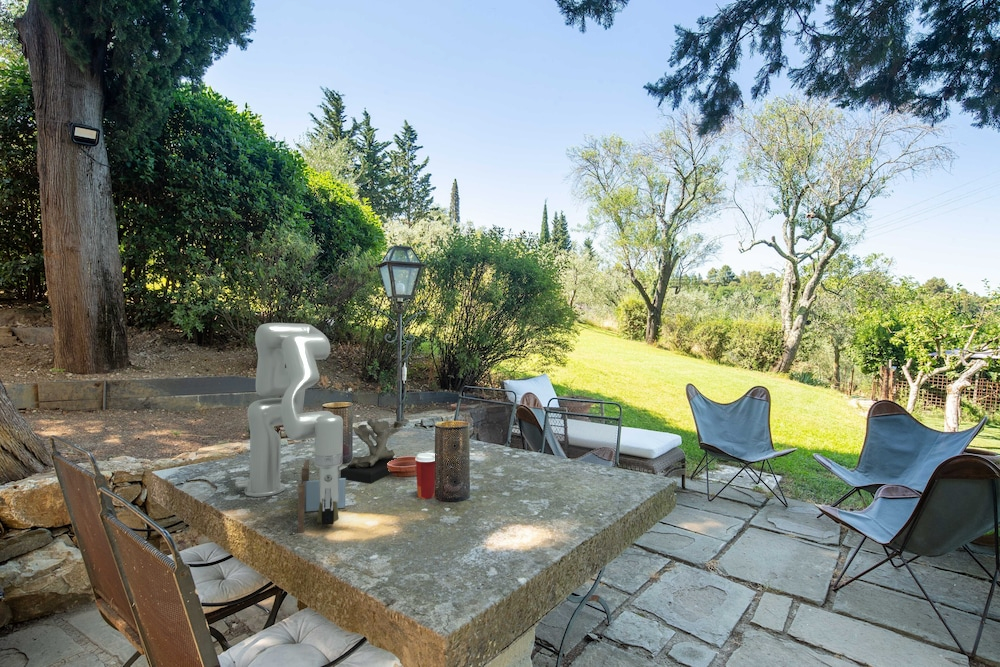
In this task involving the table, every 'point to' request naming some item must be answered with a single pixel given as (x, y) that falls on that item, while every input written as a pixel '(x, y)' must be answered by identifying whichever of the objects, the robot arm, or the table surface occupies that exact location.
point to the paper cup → (425, 475)
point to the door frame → (302, 496)
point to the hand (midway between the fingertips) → (327, 523)
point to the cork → (334, 512)
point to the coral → (373, 452)
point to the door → (314, 498)
